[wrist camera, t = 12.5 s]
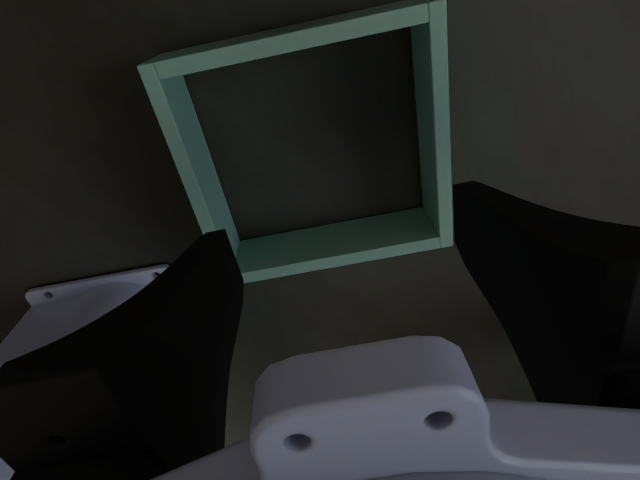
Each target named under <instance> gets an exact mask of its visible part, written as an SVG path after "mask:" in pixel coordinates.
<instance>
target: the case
mask: <svg viewBox="0 0 640 480" xmlns="http://www.w3.org/2000/svg"><path fill="white" fill-rule="evenodd" d="M405 27H410V28H411V42H412V57H413V71H414V85H415V100H416V114H417V128H418V143H419V157H420V171H421V186H422V200H423V207H419V208H414V209H408V210H403V211H398V212H392V213H387V214H382V215H376V216H371V217H366V218H360V219H355V220H350V221H344V222H339V223H334V224H328V225H323V226H317V227H312V228H307V229H301V230H296V231H291V232H285V233H280V234H275V235H269V236H264V237H259V238H253V239H248V240H242V241H240V239H239V237H238V234H237V231H236V228H235V225H234V222H233V219H232V216H231V213H230V210H229V207H228V205H227V202H226V199H225V196H224V193H223V190H222V187H221V184H220V181H219V178H218V176H217V173H216V170H215V167H214V164H213V161H212V158H211V155H210V152H209V149H208V146H207V144H206V141H205V138H204V135H203V132H202V129H201V126H200V123H199V120H198V117H197V114H196V112H195V109H194V106H193V103H192V100H191V97H190V94H189V91H188V88H187V85H186V83H185V80H184V77H183V75H187V74H191V73H196V72H200V71H205V70H210V69H214V68H219V67H224V66H228V65H233V64H238V63H242V62H247V61H252V60H256V59H261V58H266V57H270V56H275V55H280V54H284V53H289V52H294V51H298V50H303V49H308V48H312V47H317V46H321V45H326V44H331V43H335V42H340V41H345V40H349V39H354V38H359V37H363V36H368V35H373V34H377V33H382V32H387V31H391V30H396V29H401V28H405ZM137 69H138V71H139V74H140V76H141V79H142V81H143V84H144V87H145V89H146V92H147V94H148V97H149V99H150V102H151V104H152V107H153V109H154V112H155V114H156V117H157V119H158V122H159V124H160V127H161V130H162V132H163V135H164V137H165V140H166V142H167V145H168V147H169V150H170V152H171V155H172V157H173V160H174V162H175V165H176V167H177V170H178V173H179V175H180V178H181V180H182V183H183V185H184V188H185V190H186V193H187V195H188V198H189V200H190V203H191V205H192V208H193V211H194V213H195V216H196V218H197V221H198V223H199V226H200V228H201V231H202V233H203V235H204V234H205V233H206V232H211V231H216V230H221V229H225V230H226V233H227V235H228V238H229V241H230V244H231V246H232V249H233V252H234V255H235V257H236V260H237V263H238V266H239V268H240V271H241V274H242V277H243V279H244V283H249V282H254V281H260V280H265V279H271V278H277V277H282V276H288V275H293V274H299V273H304V272H310V271H316V270H321V269H327V268H332V267H338V266H343V265H349V264H354V263H360V262H366V261H371V260H377V259H382V258H388V257H393V256H399V255H404V254H410V253H416V252H421V251H427V250H432V249H438V248H443V247H448V246H453V221H452V186H451V151H450V117H449V82H448V47H447V12H446V0H403V1H398V2H394V3H389V4H385V5H380V6H376V7H371V8H367V9H362V10H357V11H353V12H348V13H344V14H339V15H335V16H330V17H325V18H321V19H316V20H312V21H307V22H303V23H298V24H294V25H289V26H284V27H280V28H275V29H271V30H266V31H262V32H257V33H252V34H248V35H243V36H239V37H234V38H230V39H225V40H220V41H216V42H211V43H207V44H202V45H198V46H193V47H189V48H184V49H179V50H175V51H170V52H166V53H161V54H159V55H157V56H155V57H153V58H152V59H150V60H148V61H146V62H144V63H142V64H140V65H138V66H137Z"/></svg>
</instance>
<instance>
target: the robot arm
mask: <svg viewBox="0 0 640 480" xmlns="http://www.w3.org/2000/svg"><path fill="white" fill-rule="evenodd" d="M453 204H454V237H455V243H456V245H457V248H458V250H459V253H460V255H461V257H462V259H463V262H464V264H465V266H466V268H467V269H468V271H469V273H470V274H471V276H472V277H473V279H474V281H475V282H476V284H477V285H478V287H479V288H480V290H481V292H482V293H483V295H484V296H485V298H486V299H487V301H488V303H489V304H490V306H491V307H492V309H493V310H494V312H495V314H496V315H497V317H498V318H499V320H500V322H501V324H502V326H503V327H504V329H505V331H506V333H507V335H508V337H509V340H510V342H511V344H512V346H513V348H514V350H515V352H516V354H517V356H518V359H519V361H520V363H521V365H522V367H523V370H524V372H525V374H526V376H527V379H528V381H529V383H530V385H531V388H532V390H533V392H534V395H535V397H536V399H537V402H532V401H518V400H505V399H491V398H483V397H482V395H481V393H480V391H479V388H478V386H477V384H476V381H475V379H474V377H473V375H472V372H471V370H470V368H469V366H468V363H467V361H466V359H465V357H464V354H463V352H462V350H461V348H460V347H459V346H457V345H455V344H453V343H451V342H450V341H448V340H446V339H444V338H442V337H440V336H407V337H401V338H395V339H389V340H383V341H378V342H372V343H366V344H360V345H354V346H348V347H342V348H337V349H331V350H325V351H319V352H313V353H307V354H302V355H296V356H292V357H290V358H287V359H284V360H282V361H279V362H277V363H274V364H271V365H269V366H268V367H267V369H266V370H265V371H264V372H263V373H262V374H261V376H260V377H259V378H258V379H257V380H256V381H255V390H254V399H253V408H252V417H251V426H250V437H249V438H246V439H244V440H242V441H239V442H237V443H235V444H232V445H230V446H227V447H225V448H224V443H225V422H226V406H227V393H228V381H229V372H230V366H231V360H232V356H233V351H234V346H235V341H236V336H237V331H238V326H239V321H240V316H241V311H242V306H243V285H244V279H243V277H242V274H241V271H240V268H239V266H238V263H237V260H236V257H235V255H234V252H233V249H232V246H231V244H230V241H229V238H228V235H227V233H226V230H225V229H221V230H216V231H211V232H206V233H205V234H204V235H202V236H201V237H200V238H199V239H198V240H197V241H195V242H194V243H193V244H192V245H191V246H190V247H189V248H188V249H187V250H186V251H185V252H184V253H183V254H182V255H181V256H180V257H178V258H177V259H176V260H175V261H174V262H173V263H172V264H171V265H170V266H169V265H167V264H162V265H156V266H151V267H146V268H140V269H135V270H129V271H124V272H119V273H113V274H108V275H102V276H97V277H92V278H86V279H81V280H75V281H70V282H65V283H59V284H54V285H48V286H43V287H38V288H32V289H30V290H29V291H28V292H27V293H26V294H25V298H26V300H27V301H28V302H29V304H30V305H31V308H30V309H29V310H28V311H27V313H26V314H25V315H24V316H23V317H22V319H21V320H20V321H19V322H18V323H17V325H16V326H15V327H14V328H13V329H12V331H11V332H10V333H9V334H8V335H7V337H6V338H5V339H4V340H3V341H2V343H1V344H0V480H640V227H638V226H629V225H623V224H616V223H610V222H603V221H598V220H593V219H588V218H584V217H579V216H575V215H571V214H567V213H563V212H559V211H556V210H553V209H549V208H546V207H543V206H540V205H537V204H534V203H531V202H528V201H526V200H523V199H520V198H518V197H515V196H513V195H510V194H507V193H505V192H502V191H500V190H497V189H495V188H492V187H490V186H487V185H485V184H482V183H479V182H476V181H470V182H465V183H459V184H454V185H453ZM154 272H157V273H159V275H156V274H155V273H154ZM48 292H49V293H51V294H52V295H51V294H49V293H48Z"/></svg>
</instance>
